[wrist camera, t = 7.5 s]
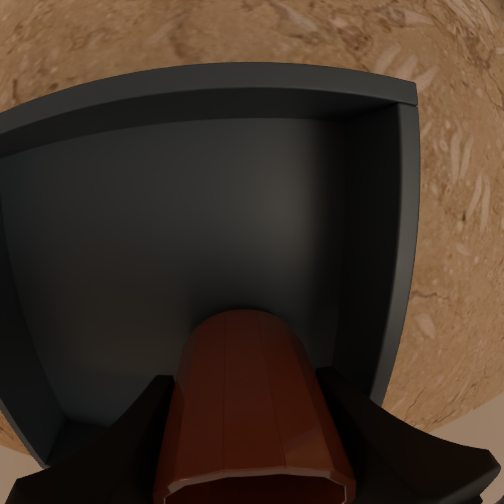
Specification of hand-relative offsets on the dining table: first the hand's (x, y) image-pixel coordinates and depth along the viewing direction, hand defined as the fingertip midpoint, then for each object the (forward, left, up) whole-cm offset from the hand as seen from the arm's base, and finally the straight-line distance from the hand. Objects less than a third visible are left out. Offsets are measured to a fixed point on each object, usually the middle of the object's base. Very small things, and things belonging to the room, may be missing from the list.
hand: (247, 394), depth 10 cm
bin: (+2, +3, -3) cm, 5 cm away
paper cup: (0, 0, -2) cm, 2 cm away
